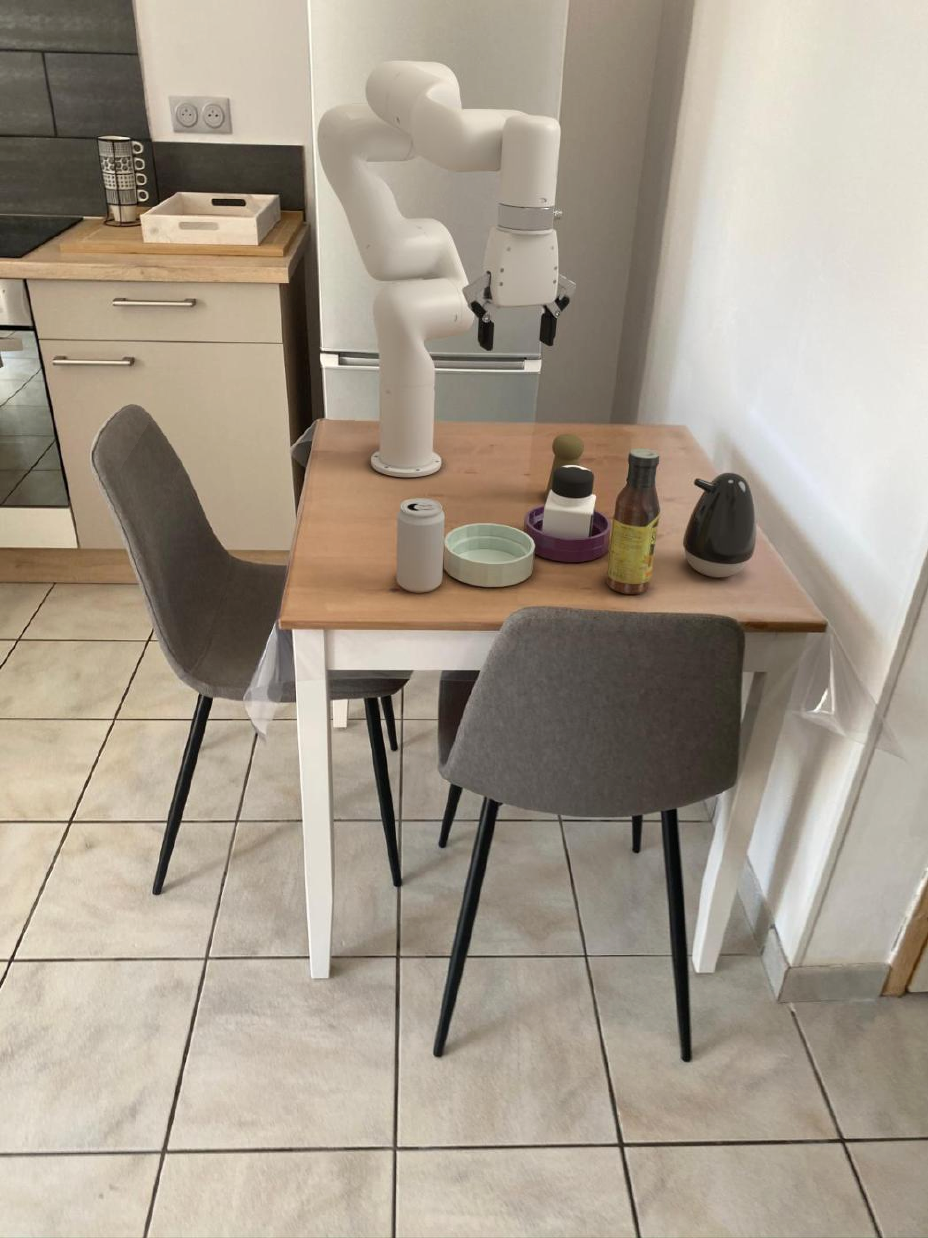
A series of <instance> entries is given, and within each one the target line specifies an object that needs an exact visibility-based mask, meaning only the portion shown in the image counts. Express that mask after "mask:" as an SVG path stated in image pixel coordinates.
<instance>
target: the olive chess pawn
mask: <svg viewBox="0 0 928 1238" xmlns="http://www.w3.org/2000/svg"><path fill="white" fill-rule="evenodd" d="M551 445H552V447H551V449H552V453H553V454H554V457H553V461H552V466H551V470H550V474H549V478H548V482H547V486H546V490H545V495H544V499H545V501H547V498H548V495H549V492H550V490H552V481H553V472H554V471H555V470H556V469H557V468H559V467H562V466H567V465H576V466H581V464H580V461H581V460H580V457H581V456H582V455H583V453H584V449H585V443H584V441H583V438H582V437H580V436H578V435H576V434H572V433H571V434H568V433H564V434H560V435H559V434H558V435H557V436H555V438H554V439H553V441H552V443H551Z"/></svg>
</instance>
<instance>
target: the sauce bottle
mask: <svg viewBox="0 0 928 1238" xmlns="http://www.w3.org/2000/svg"><path fill="white" fill-rule="evenodd" d="M627 463H628V470H627V477H626V479H625V481H626V483H625V486H624V487H623V488H622V489H621V490H620V491H619V493H618V495H617V496H616V499H615V506H614V513H613V516H612V522H611V530H610V539H609V548H608V557H607V566H606V575H607V576H606V585H607V586H608V587H609V589H611V590H613V591H614V592H617V593H621V594H624V595H625V594H626V595H639V594H641V593H643V592H645V591H646V590H647V589H648V587H649V583H650V580H651V578H652V571H653V565H654V558H655V550H656V544H657V538H658V528H659V522H660V516H661V506H660V501H659V497H658V493H657V486H656V477H657V476H656V475H657V468H658V466H659V464H660V453H659V452H658V451H656V450H654V449H650V448H645V447H644V448H643V447H638V448H633V449H631V450H629V452H628V458H627Z"/></svg>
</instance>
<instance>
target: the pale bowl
mask: <svg viewBox="0 0 928 1238" xmlns="http://www.w3.org/2000/svg"><path fill="white" fill-rule="evenodd" d="M523 531H524V530H522V529H521V530H520V529H519V528H516V527H514V526H509V525H505V524H499V523H491V522H488V523H487V522H483V523H482V522H480V523H479V522H476V523H471V524H465V525H462V526H458V527H456V528H453V529H452V530H450V531H449V532H448V533H446V535H445V536H444V545H443V568H444V569H443V570H445V572H446V573H447V574H448V575H449V576H450V577H452V578H454V579H456V580H457V581H458V582H462V583H465V584H468V585H471V586H475V587H476V586H477V587H482V588H483V587H484V588H493V587H494V588H500V587H501V588H502V587H509V586H513V585H517V584H520V583H522V582H523V581H526V580H527V579H528V578H529V577H531V576H532V573H533V571H534V565H535V562H534V561H535V555H536V554H535V544H534V541H533V539H532V538H531V537H530V536H529V535H528V534H526V533H525V532H523Z"/></svg>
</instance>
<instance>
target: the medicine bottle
mask: <svg viewBox="0 0 928 1238" xmlns="http://www.w3.org/2000/svg"><path fill="white" fill-rule="evenodd" d="M594 483H595V475H594V473H593V472H592V470H591V469H589V468H586V467H584V466H581V465H580V466H576V465H567V466H562V467H559V468H557V469H556V470H555V471H554V472H553V481H552V490H550V492H549V495H548V498H547V500H545V508H544V516H543V527H542V532H543V533H545V534H549V535H552V536H556V537H563V538H587V537H591V535H592V526H593V518H594V510H596V503H597V502H596V501H597V496H596V494H593V489H594Z"/></svg>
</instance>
